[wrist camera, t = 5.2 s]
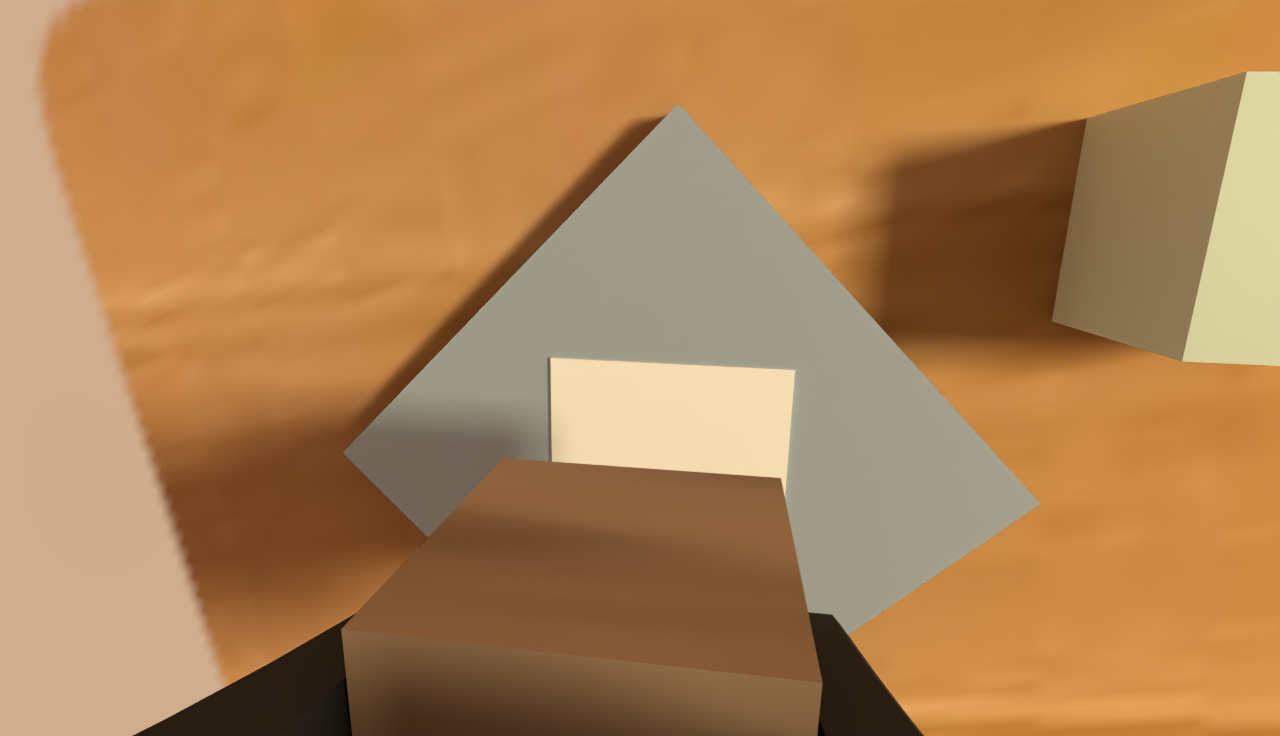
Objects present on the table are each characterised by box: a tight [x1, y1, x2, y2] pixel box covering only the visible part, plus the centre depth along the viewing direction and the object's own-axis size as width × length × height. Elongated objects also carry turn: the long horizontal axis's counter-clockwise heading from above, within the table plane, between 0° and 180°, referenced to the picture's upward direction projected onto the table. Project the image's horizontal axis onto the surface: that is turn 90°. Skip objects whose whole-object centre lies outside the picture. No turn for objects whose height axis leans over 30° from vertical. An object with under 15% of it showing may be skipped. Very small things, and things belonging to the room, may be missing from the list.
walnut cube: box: [341, 458, 823, 736], centre depth 7 cm, size 4×4×4 cm
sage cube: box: [1052, 72, 1280, 366], centre depth 11 cm, size 4×4×4 cm
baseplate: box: [343, 104, 1040, 635], centre depth 14 cm, size 11×11×1 cm
